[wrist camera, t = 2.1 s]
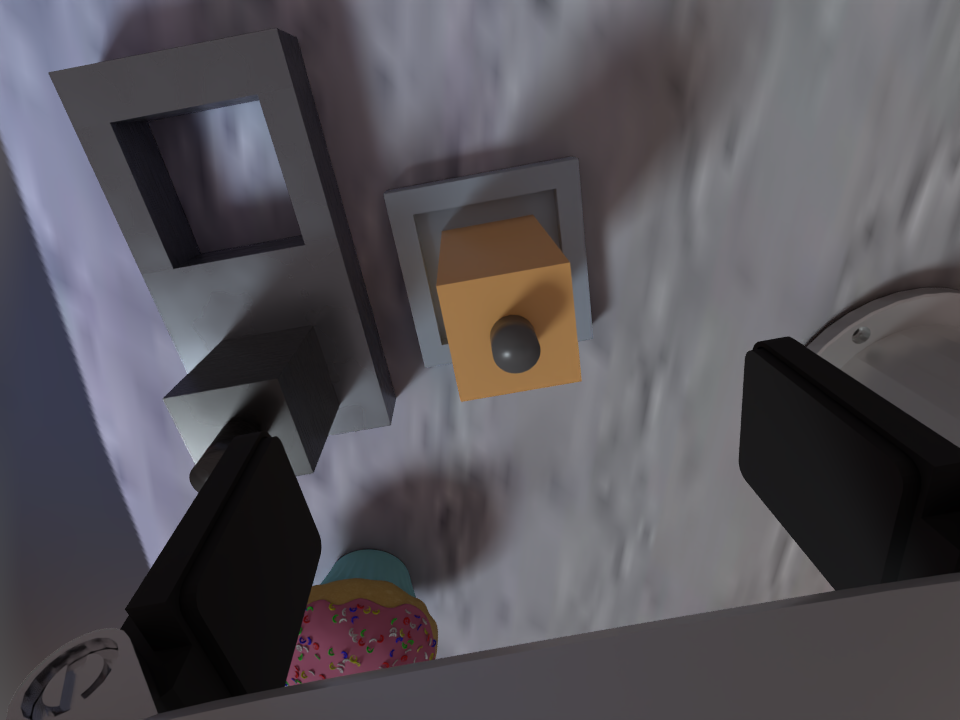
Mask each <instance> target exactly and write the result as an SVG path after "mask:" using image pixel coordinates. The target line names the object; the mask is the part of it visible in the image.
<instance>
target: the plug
mask: <svg viewBox="0 0 960 720" xmlns="http://www.w3.org/2000/svg"><path fill="white" fill-rule="evenodd" d="M436 288H437V293H438V297H439V302H440V307H441V311H442V316H443V321H444V325H445V330H446V335H447V339H448V344H449V349H450V353H451V358H452V363H453V367H454V372H455V377H456V381H457V386H458V391H459V395H460V400H461V402H463V401H468V400H474V399H480V398H486V397H492V396H498V395H504V394H509V393H515V392H521V391H527V390H533V389H539V388H545V387H550V386H556V385H562V384H568V383H574V382H580V381H582V380H581V370H580V360H579V349H578V339H577V329H576V318H575V308H574V298H573V287H572V277H571V267H570V262H569V260H568V259H567V258H566V256H565V255H564V254H563V253H562V251H561V250H560V249H559V247H558V246H557V245H556V244H555V242H554V241H553V240H552V238H551V237H550V236H549V235H548V233H547V232H546V231H545V229H544V228H543V227H542V226H541V224H540V223H539V222H538V220H537V219H536V218H535V217H534V215H528V216H522V217H517V218H511V219H505V220H500V221H494V222H489V223H483V224H478V225H472V226H467V227H461V228H456V229H450V230H445V231H442V234H441V244H440V253H439V263H438V273H437V283H436Z"/></svg>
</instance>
